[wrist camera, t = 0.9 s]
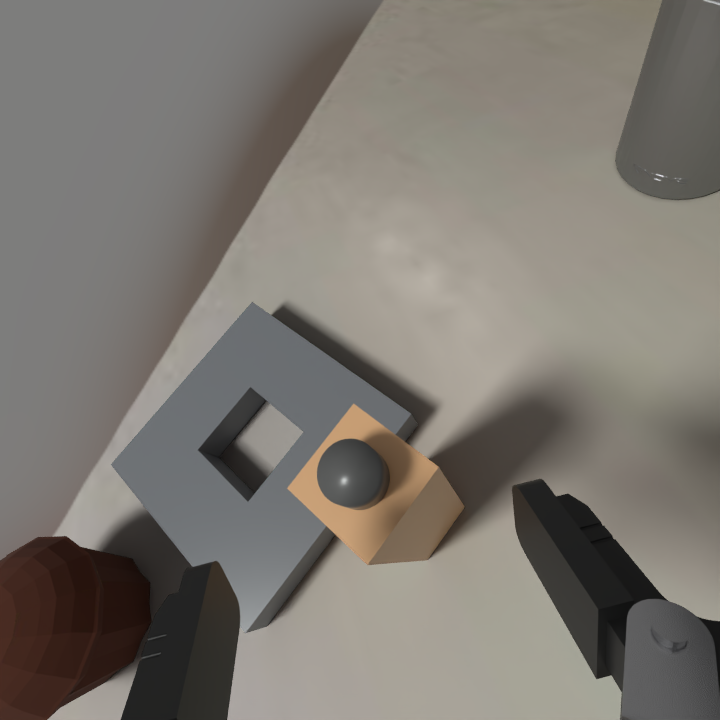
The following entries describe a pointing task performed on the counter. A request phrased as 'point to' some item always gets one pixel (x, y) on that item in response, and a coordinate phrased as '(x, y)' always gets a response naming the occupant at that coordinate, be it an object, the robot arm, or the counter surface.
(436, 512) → the plug
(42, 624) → the muffin
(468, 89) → the counter surface
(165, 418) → the socket
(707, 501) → the counter surface
